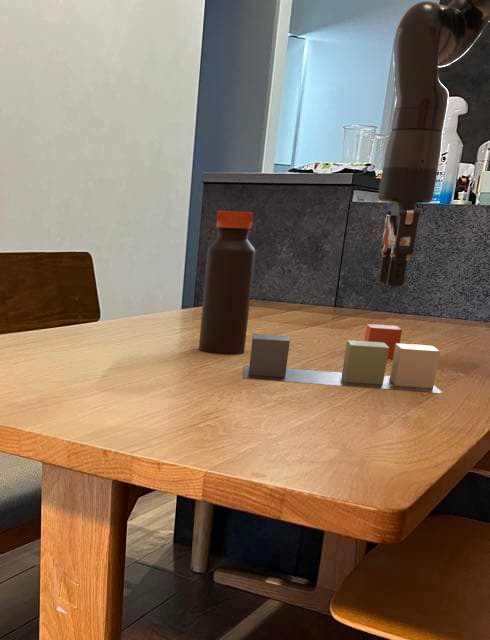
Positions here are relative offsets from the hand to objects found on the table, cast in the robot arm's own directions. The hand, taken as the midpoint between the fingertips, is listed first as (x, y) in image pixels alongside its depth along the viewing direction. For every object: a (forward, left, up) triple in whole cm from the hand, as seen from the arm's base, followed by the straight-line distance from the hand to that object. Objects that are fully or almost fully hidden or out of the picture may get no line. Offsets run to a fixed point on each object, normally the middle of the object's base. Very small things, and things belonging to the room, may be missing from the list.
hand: (390, 283), depth 129 cm
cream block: (-1, +26, -10) cm, 28 cm away
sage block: (+5, +26, -10) cm, 28 cm away
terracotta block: (0, 0, -11) cm, 11 cm away
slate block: (+17, +26, -10) cm, 33 cm away
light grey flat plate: (+8, +26, -11) cm, 29 cm away
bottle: (+24, +9, -11) cm, 28 cm away
